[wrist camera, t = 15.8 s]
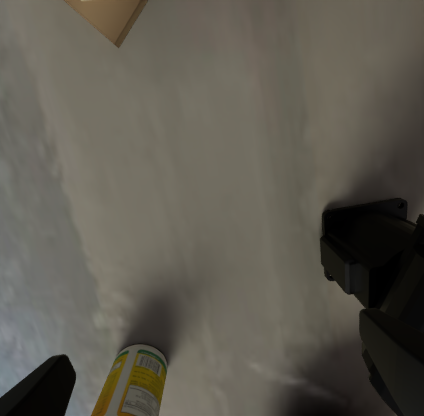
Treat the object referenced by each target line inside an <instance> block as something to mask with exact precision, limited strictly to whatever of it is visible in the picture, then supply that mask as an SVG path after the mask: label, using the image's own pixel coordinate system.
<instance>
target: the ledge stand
mask: <svg viewBox="0 0 424 416" xmlns="http://www.w3.org/2000/svg"><path fill="white" fill-rule="evenodd" d="M64 1H65V2H66V3H67V4H69V5H70V6H71V7H72V8H73V9H74V10H75V11H77V12H78V13H79V14H80V15H81V16H82V17H83V18H85V19H86V20H87V21H88V22H89V23H90V24H92V25H93V26H94V27H95V28H96V29H97V30H98V31H100V32H101V33H102V34H103V35H104V36H105V37H106V38H108V39H109V40H110V41H111V42H112V43H113V44H115V45H116V46H117V47H118V48H119V47H120V45H121V43H122V42H123V40H124V38H125V37H126V35H127V34H128V32H129V30H130V29H131V27H132V25H133V24H134V22H135V21H136V19H137V17H138V16H139V14H140V12H141V11H142V9H143V8H144V6H145V4H146V3H147V1H148V0H64Z"/></svg>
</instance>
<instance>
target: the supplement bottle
mask: <svg viewBox="0 0 424 416" xmlns="http://www.w3.org/2000/svg"><path fill="white" fill-rule="evenodd" d="M166 374H167V362H166V359H165V357H164V355H163V354H162V353H161V352H160V351H159V350H157V349H156V348H154V347H152V346H148V345H142V344H138V345H132V346H129V347H127V348H125V349H124V350H122V351H121V352H120V353H119V354H118V355H117V357H116V359H115V361H114V363H113V366H112V368H111V370H110V373H109V375H108V377H107V380H106V382H105V384H104V387H103V389H102V392H101V394H100V396H99V398H98V401H97V403H96V405H95V408H94V410H93V412H92V415H91V416H159V410H160V405H161V400H162V394H163V389H164V384H165V379H166Z"/></svg>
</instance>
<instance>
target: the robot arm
mask: <svg viewBox="0 0 424 416" xmlns="http://www.w3.org/2000/svg"><path fill="white" fill-rule="evenodd" d="M399 203H401V204H400V206H399V207H398V204H399ZM328 215H331V217H330V218H329V219H327V217H328ZM406 219H407V201H406V200H403V199H401V198H396V199H390V200H384V201H379V202H373V203H367V204H361V205H355V206H349V207H343V208H338V209H332V210H327V211H325V212H324V213H323V214H322V230H323V236H322V237H321V238H320V247H321V264H322V265H323V266H324V274H325V277H326V278H327V279H328V280H329V281H336V282H337V283H338V285H339V286H340V287H341V288H342V290H343V291H344V292H345V293H347V294H348V295H350V294H354V295H355V297H356V298H357V299H358V300H359V301H360V302H361V304H362V305H363V306H364V307H365V308H366V309H362V310H361V311H360V314H359V332H360V336H361V339H362V341H363V342H362V356H363V359H364V361H365V363H366V366H367V368H368V370H369V372H370V375H369V381H370V383H371V384H372V386H373V387H374V389H375V390H376V391H377V393H378V394H379V395H380V397H381V398H382V399H383V400H384V401H385V403H386V404H387V405H388V406H389V407H390V408H391V409H392V410H393V411H394V412H395V413H396V414H397V415H398V416H424V215H423V214H420V215H419V217H418V219H417V221H416V223H417V224H415V223H413V222H411V221H409V220H406ZM330 275H331V276H330ZM75 381H76V372H75V370H74V368H73V366H72V364H71V362H70V360H69V358H68V356H67V355H64V354H63V355H56V356H52V357H50V358H49V359H48V360H46V361H45V362H44V363H43V364H41V365H40V366H39V367H38V368H36V369H35V370H34V371H33V372H32V373H30V374H29V375H28V376H27V377H25V378H24V379H23V380H22V381H20V382H19V383H18V384H17V385H15V386H14V387H13V388H12V389H11V390H9V391H8V392H7V393H6V394H4V395H3V396H2V397H1V398H0V416H65V413H66V410H67V406H68V403H69V400H70V397H71V394H72V391H73V388H74V385H75Z"/></svg>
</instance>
